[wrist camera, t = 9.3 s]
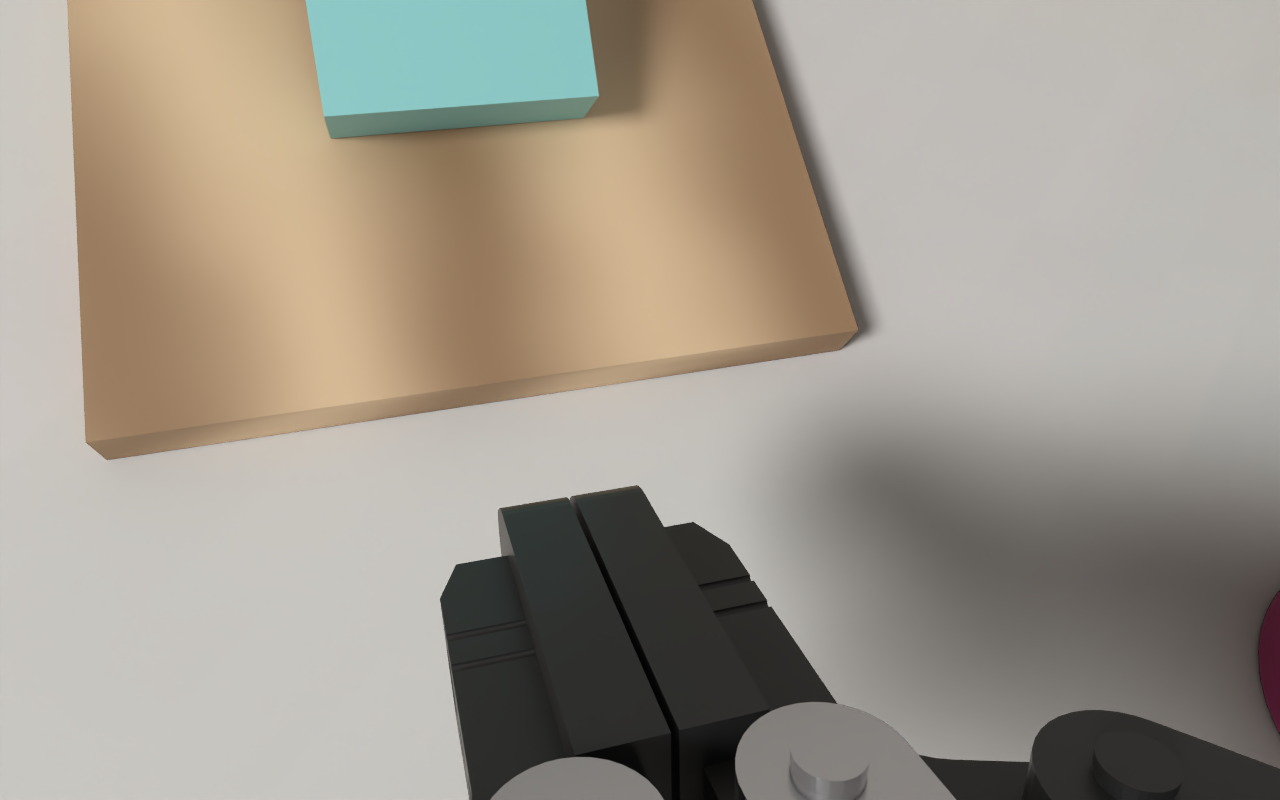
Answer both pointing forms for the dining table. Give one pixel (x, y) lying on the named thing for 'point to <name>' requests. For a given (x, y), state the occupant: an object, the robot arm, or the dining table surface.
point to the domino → (450, 63)
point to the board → (423, 227)
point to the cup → (1271, 659)
